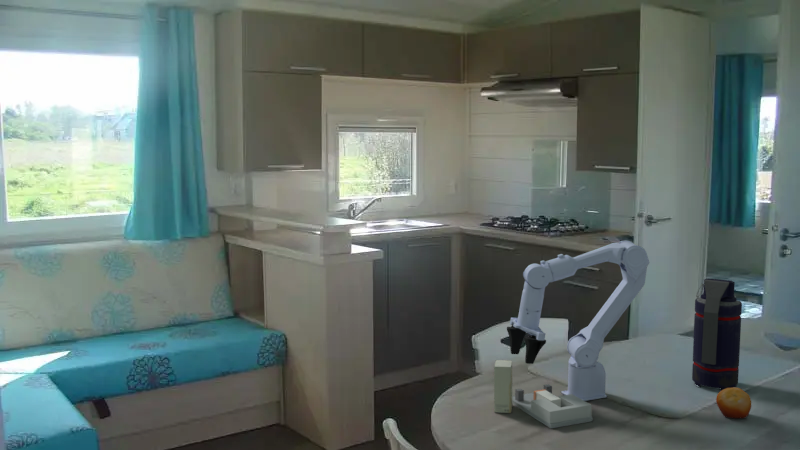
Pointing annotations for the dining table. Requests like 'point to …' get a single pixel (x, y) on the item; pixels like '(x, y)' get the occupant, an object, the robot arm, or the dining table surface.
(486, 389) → the dining table surface
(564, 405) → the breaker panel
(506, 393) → the skincare box
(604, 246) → the robot arm
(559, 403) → the button
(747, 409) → the fruit
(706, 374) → the grenade
